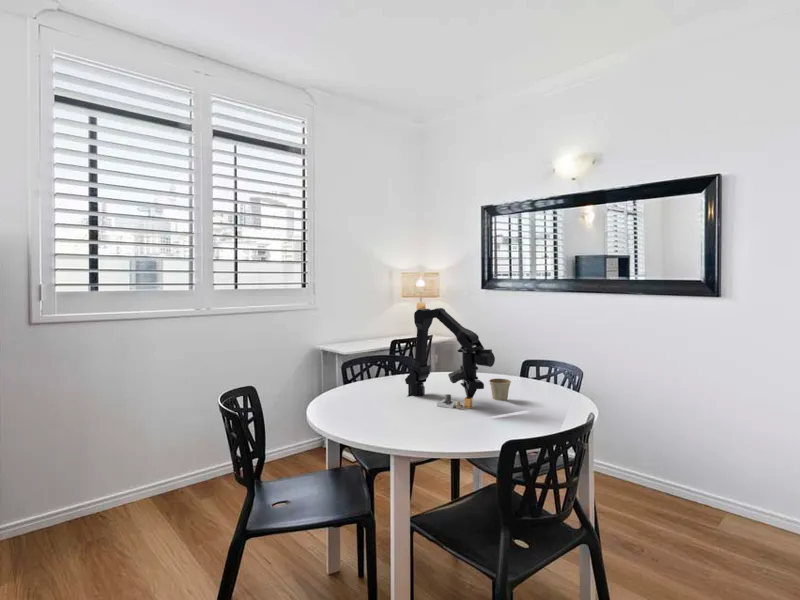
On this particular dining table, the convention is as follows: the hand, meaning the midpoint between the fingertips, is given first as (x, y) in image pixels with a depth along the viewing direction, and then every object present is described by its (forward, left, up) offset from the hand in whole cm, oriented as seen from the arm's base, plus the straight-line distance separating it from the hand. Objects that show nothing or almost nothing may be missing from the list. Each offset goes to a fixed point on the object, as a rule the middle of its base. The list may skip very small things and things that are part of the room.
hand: (469, 401), depth 197 cm
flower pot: (+9, +16, -3) cm, 18 cm away
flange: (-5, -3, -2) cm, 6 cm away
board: (-8, -3, -3) cm, 9 cm away
